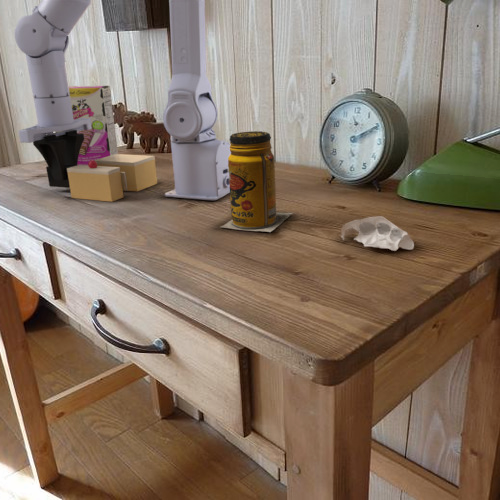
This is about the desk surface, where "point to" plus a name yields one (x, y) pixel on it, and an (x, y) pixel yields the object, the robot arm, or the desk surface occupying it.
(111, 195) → the cake slice
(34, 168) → the desk surface
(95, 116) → the candy bar box
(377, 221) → the white irregular chunk
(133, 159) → the cake
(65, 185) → the knife
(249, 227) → the condiment
